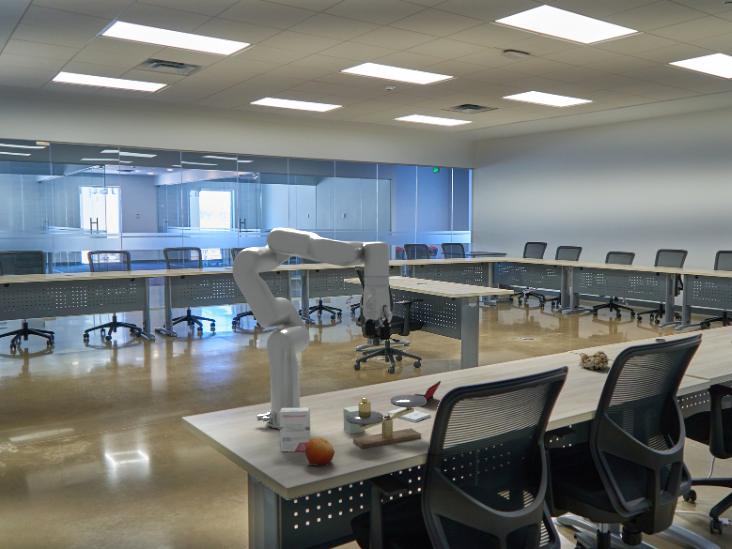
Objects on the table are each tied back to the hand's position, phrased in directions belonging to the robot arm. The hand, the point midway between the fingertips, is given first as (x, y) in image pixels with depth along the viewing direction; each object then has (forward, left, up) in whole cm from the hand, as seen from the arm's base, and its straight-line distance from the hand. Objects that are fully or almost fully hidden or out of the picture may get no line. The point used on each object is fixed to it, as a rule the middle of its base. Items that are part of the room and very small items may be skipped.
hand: (377, 337), depth 186 cm
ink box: (-27, 0, -31) cm, 41 cm away
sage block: (-5, +7, -30) cm, 32 cm away
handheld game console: (+31, +25, -31) cm, 50 cm away
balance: (0, -6, -30) cm, 31 cm away
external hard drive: (+18, +12, -31) cm, 38 cm away
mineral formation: (+127, +33, -31) cm, 134 cm away
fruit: (-25, -14, -31) cm, 42 cm away
